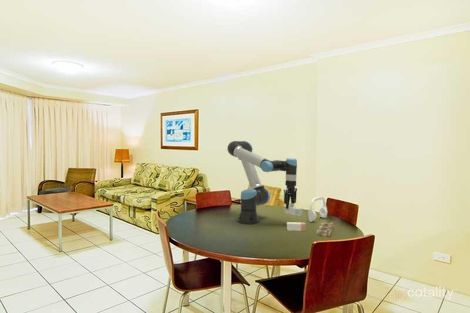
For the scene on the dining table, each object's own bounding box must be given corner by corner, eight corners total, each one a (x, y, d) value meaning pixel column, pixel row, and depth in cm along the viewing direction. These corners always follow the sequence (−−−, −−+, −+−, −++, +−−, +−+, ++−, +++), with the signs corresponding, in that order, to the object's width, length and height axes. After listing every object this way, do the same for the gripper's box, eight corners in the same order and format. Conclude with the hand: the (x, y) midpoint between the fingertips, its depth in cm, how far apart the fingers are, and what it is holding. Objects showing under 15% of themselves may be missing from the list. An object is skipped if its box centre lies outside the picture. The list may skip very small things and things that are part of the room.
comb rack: (316, 235, 183) (316, 227, 183) (321, 226, 202) (321, 220, 202) (329, 236, 180) (329, 229, 180) (333, 228, 199) (333, 221, 198)
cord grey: (284, 213, 207) (284, 206, 207) (288, 212, 210) (288, 206, 210) (298, 216, 199) (299, 209, 199) (302, 215, 202) (302, 208, 202)
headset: (314, 223, 212) (314, 199, 211) (305, 221, 217) (306, 197, 217) (328, 219, 225) (329, 196, 224) (320, 217, 230) (321, 195, 230)
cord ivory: (287, 230, 193) (287, 223, 193) (286, 228, 198) (286, 222, 197) (305, 231, 192) (305, 224, 192) (304, 229, 197) (304, 222, 196)
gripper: (288, 181, 197) (287, 215, 198) (302, 179, 209) (301, 211, 210) (279, 180, 202) (278, 213, 203) (293, 178, 214) (292, 209, 215)
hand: (289, 212), depth 207 cm, fingers closed on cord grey, 4 cm apart
